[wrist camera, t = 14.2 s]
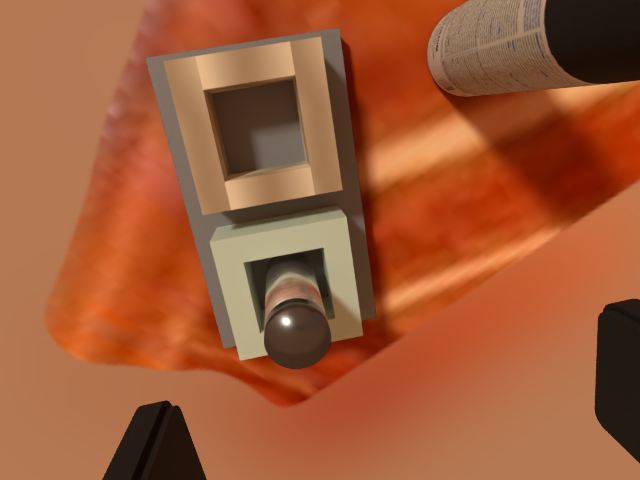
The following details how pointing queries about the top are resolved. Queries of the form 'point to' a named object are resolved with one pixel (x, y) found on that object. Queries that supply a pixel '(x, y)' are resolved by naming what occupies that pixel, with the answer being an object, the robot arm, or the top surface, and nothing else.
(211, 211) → the maple mount
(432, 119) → the top surface
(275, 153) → the base board
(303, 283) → the steel pin
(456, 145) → the top surface
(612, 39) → the spray can
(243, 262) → the sage dock
